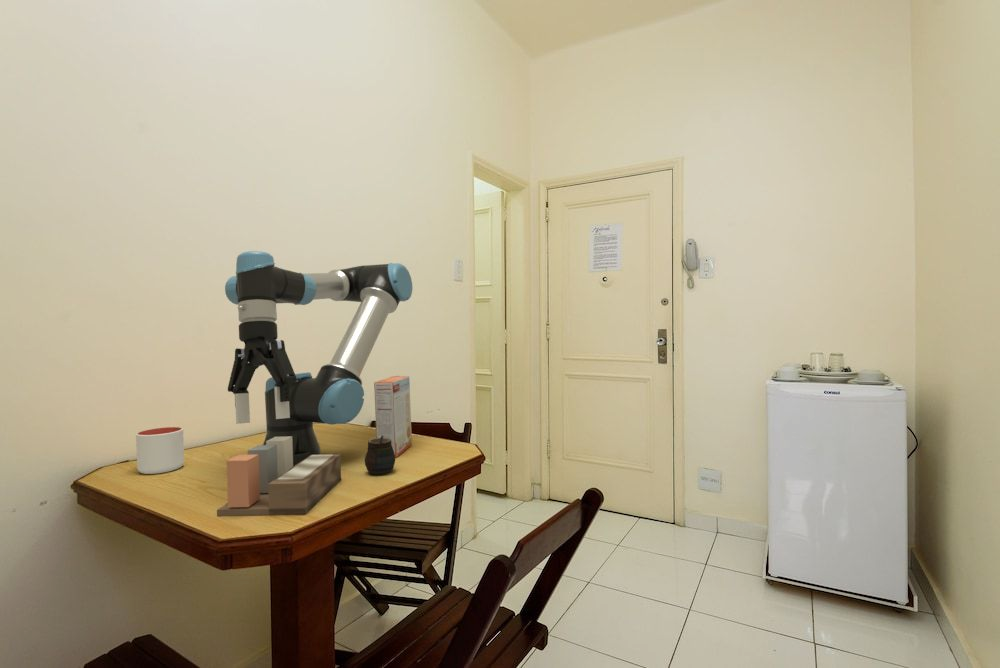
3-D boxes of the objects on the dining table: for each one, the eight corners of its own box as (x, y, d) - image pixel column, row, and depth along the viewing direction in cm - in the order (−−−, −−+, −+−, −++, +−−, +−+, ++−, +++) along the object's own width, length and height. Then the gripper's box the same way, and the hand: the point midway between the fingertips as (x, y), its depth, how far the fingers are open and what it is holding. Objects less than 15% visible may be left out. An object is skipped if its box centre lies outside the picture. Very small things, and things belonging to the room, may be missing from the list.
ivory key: (276, 475, 116) (275, 436, 116) (293, 474, 116) (292, 436, 116) (267, 481, 112) (266, 441, 112) (285, 480, 112) (283, 440, 112)
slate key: (259, 486, 108) (258, 445, 108) (277, 486, 108) (276, 444, 108) (249, 493, 104) (247, 450, 104) (268, 492, 104) (267, 449, 104)
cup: (192, 463, 134) (191, 426, 133) (169, 475, 124) (167, 434, 123) (154, 464, 133) (153, 427, 133) (127, 476, 123) (126, 435, 123)
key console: (268, 481, 117) (267, 454, 117) (341, 480, 117) (340, 452, 116) (217, 515, 96) (215, 482, 96) (305, 514, 96) (304, 481, 95)
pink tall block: (240, 499, 100) (238, 454, 100) (259, 499, 100) (258, 454, 100) (228, 507, 96) (226, 460, 96) (248, 507, 96) (247, 460, 96)
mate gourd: (389, 466, 127) (388, 427, 127) (400, 473, 121) (400, 432, 121) (361, 471, 123) (360, 431, 123) (371, 479, 117) (371, 436, 117)
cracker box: (393, 445, 149) (391, 375, 149) (412, 445, 149) (410, 375, 148) (375, 458, 135) (373, 381, 135) (396, 458, 135) (394, 381, 134)
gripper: (208, 330, 112) (211, 426, 109) (279, 310, 99) (284, 417, 96) (240, 332, 118) (243, 423, 115) (310, 313, 106) (316, 414, 103)
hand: (262, 421), depth 106 cm, fingers open, 13 cm apart
